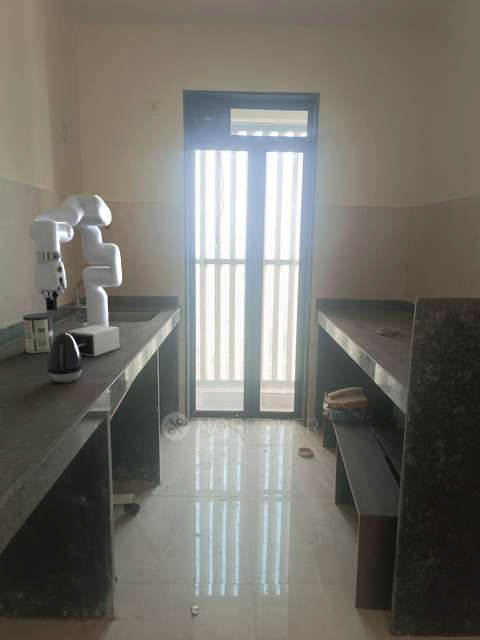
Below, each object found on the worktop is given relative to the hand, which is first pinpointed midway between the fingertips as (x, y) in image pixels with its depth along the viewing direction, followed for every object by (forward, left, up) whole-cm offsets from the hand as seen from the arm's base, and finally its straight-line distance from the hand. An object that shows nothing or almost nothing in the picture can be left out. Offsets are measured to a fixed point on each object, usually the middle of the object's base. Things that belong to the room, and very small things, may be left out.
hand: (52, 310), depth 145 cm
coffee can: (-20, +11, -19) cm, 30 cm away
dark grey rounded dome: (+18, -13, -19) cm, 29 cm away
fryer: (0, +20, -19) cm, 28 cm away
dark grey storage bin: (0, +15, -18) cm, 24 cm away
